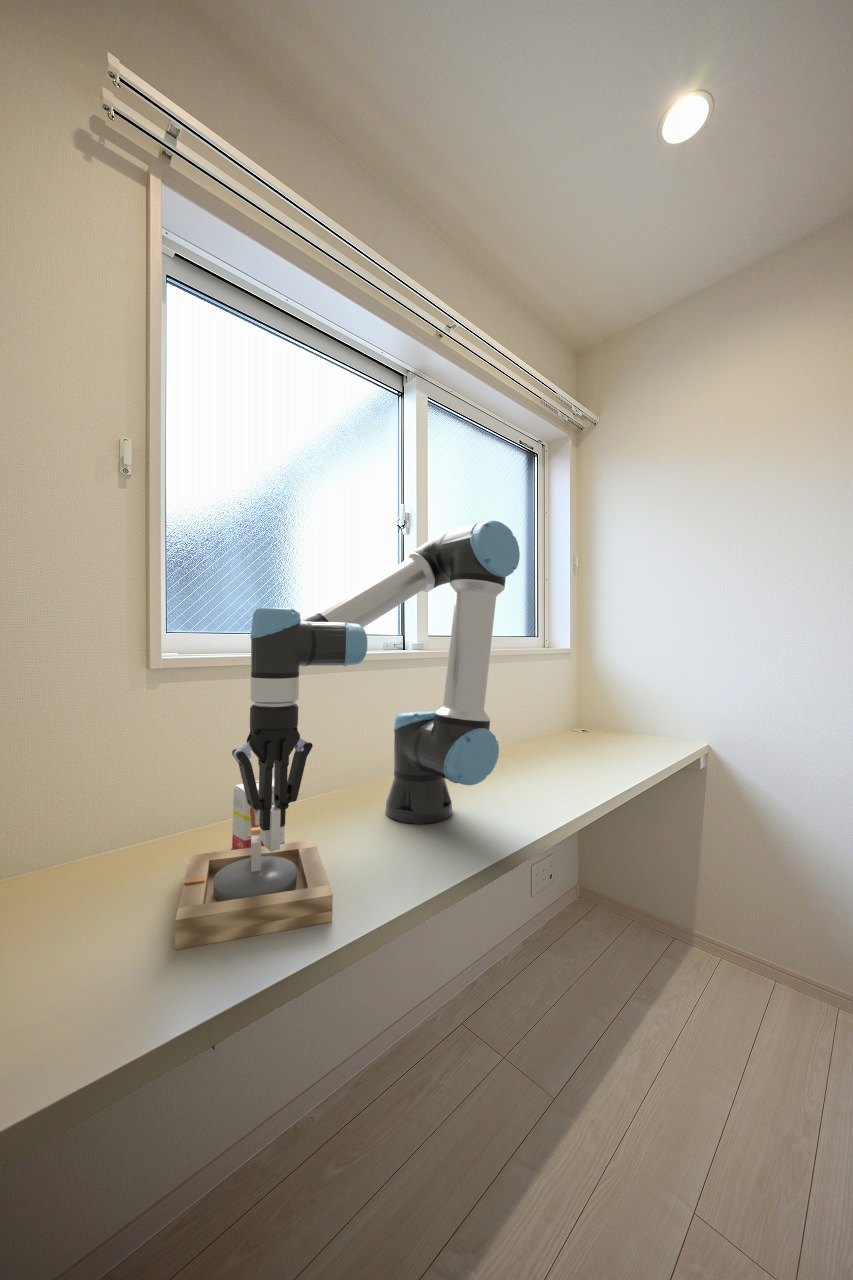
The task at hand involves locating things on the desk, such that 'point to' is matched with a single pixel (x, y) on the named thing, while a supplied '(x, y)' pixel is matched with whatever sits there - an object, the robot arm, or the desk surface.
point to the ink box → (247, 819)
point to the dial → (254, 875)
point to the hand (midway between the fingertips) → (272, 847)
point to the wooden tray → (251, 899)
